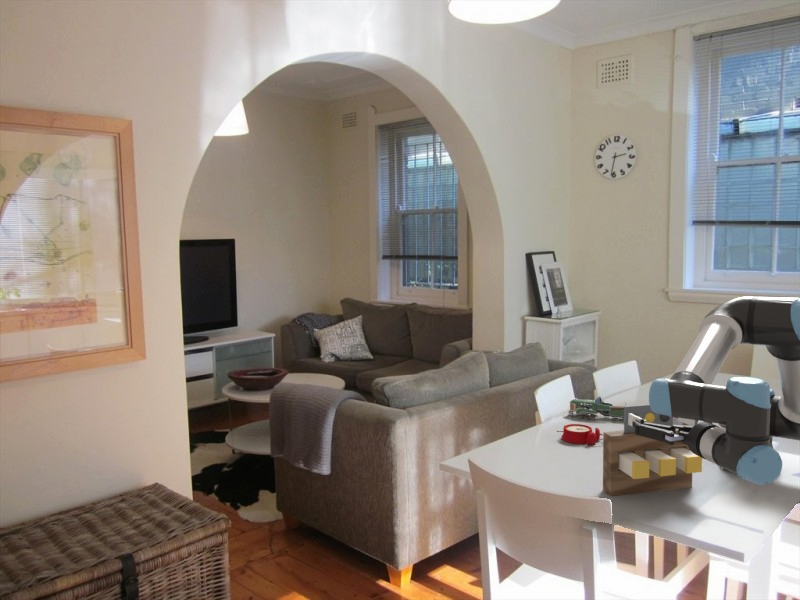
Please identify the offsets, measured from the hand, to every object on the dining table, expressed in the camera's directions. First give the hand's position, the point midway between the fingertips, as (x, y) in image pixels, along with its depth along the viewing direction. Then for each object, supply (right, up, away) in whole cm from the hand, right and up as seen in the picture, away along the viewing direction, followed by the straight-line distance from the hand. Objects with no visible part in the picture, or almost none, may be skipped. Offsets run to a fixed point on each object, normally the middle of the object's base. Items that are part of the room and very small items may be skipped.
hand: (654, 416), depth 160 cm
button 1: (-2, -16, +11) cm, 20 cm away
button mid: (+6, -16, +13) cm, 21 cm away
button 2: (+13, -16, +14) cm, 25 cm away
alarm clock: (-1, -19, +60) cm, 63 cm away
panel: (+5, -22, +18) cm, 29 cm away
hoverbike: (+14, -16, +86) cm, 88 cm away
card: (+5, -7, +16) cm, 18 cm away
